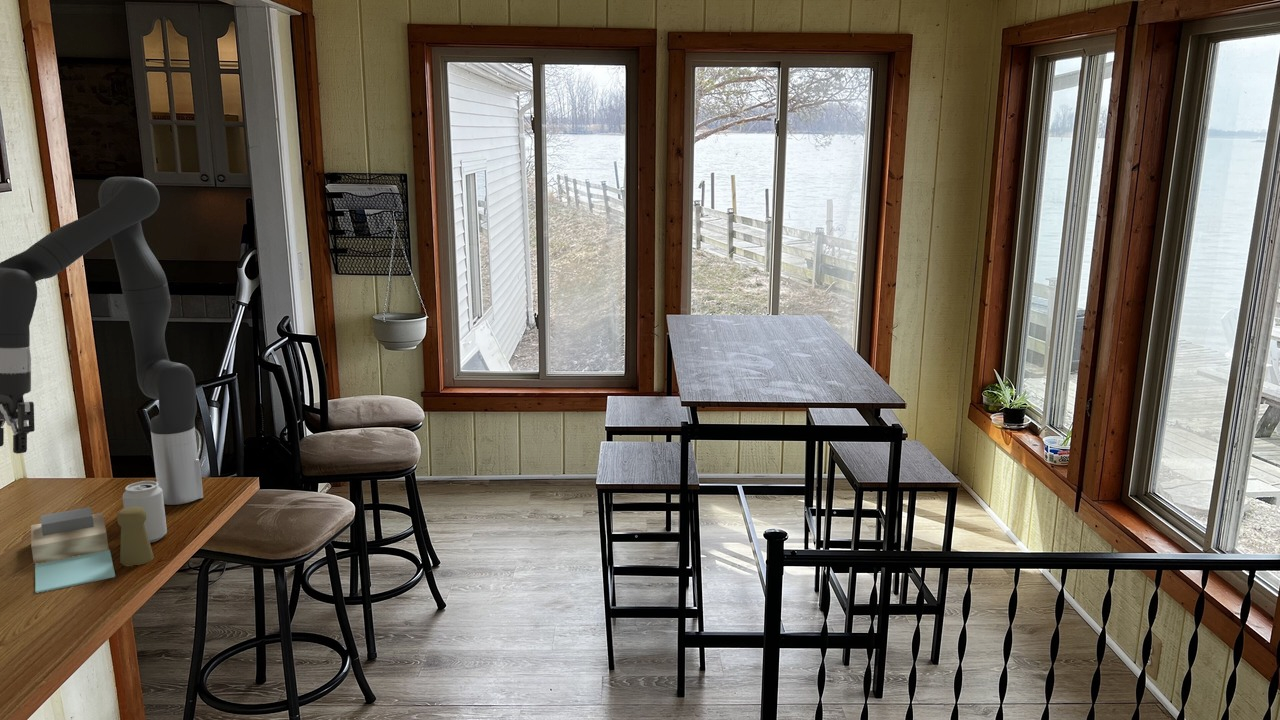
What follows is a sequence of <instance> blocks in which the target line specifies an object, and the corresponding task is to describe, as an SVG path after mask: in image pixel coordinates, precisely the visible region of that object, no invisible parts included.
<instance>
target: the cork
mask: <svg viewBox="0 0 1280 720" xmlns="http://www.w3.org/2000/svg"><path fill="white" fill-rule="evenodd" d="M146 517H147V515H146V511H145V510H144V509H143V508H142V507H138V506H134V507H128V508H124V507H123V508H122V509H120V510H119V512H118V513H117V515H116V520H117V523H118V525H119V526H120V551H119V554H120V555H119V559H120V560H119V563H121V564H124V565H129V566H128V567H132V566H131V565H138V566H142V565H145V564H148V563H149V562H152V561H153V560H154V558H155V557H154V554H153V553H154V552H153V550H152V549H153V548H152V546H151V543H150V542H149V538H148V534H147V531H146V527H145V524H144V522H145V520H146ZM121 564H120V565H121Z"/></svg>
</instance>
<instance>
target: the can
mask: <svg viewBox="0 0 1280 720" xmlns="http://www.w3.org/2000/svg"><path fill="white" fill-rule="evenodd" d="M124 490H125V491H124V492H123V494H122V504H123V509H124V508H128V507H134V506H138V507H142V508H143V509H144V510H145V511H146V515H147V517H146V520H145V522H144V524H145V527H146V531H147V534H148V538H149V542H150V544H151V543H155V542H157V541H159V540H161V539H163V538H164V537H165V535H167V533H168V529H167V527H168V526H167V521H166V520H167V518H166V511H165V504H164V500H163V491H162V489H161V488H160V487H159V486H158V483H157V481H156V480H155V481H154V480H141V481H137V482H133V483H130V484H128V485H127V486H125V488H124Z"/></svg>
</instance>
